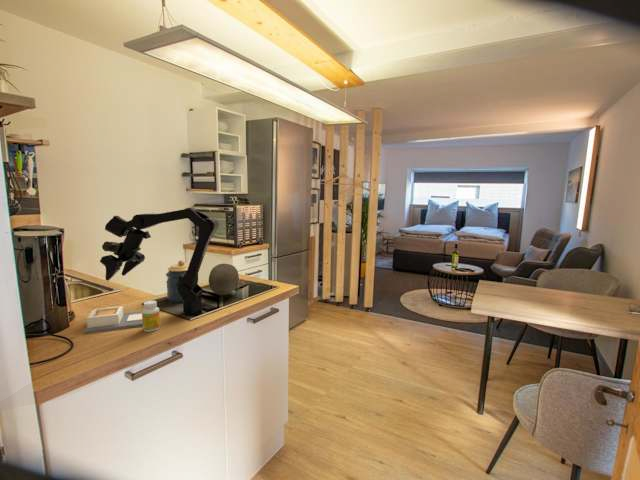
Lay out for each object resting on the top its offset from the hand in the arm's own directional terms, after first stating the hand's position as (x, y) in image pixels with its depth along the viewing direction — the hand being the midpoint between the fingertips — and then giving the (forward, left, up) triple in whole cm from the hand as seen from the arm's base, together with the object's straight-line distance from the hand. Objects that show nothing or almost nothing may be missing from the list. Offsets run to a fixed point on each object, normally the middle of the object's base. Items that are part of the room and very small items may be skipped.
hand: (115, 277), depth 127 cm
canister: (-24, -10, -15) cm, 30 cm away
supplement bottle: (-14, +22, -14) cm, 30 cm away
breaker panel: (-3, +12, -14) cm, 19 cm away
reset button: (+2, +12, -12) cm, 17 cm away
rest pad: (-8, +12, -14) cm, 20 cm away
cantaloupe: (-42, -8, -14) cm, 45 cm away
